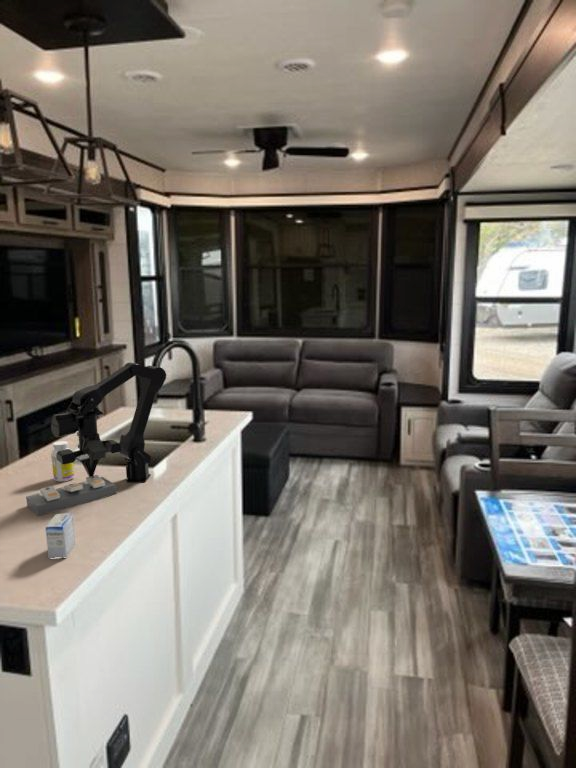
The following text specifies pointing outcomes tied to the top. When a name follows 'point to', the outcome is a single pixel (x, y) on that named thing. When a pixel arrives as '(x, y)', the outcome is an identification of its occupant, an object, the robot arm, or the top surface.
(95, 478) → the block
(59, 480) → the supplement bottle
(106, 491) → the rocker switch panel
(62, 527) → the medicine box
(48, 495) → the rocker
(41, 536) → the top surface
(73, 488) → the rocker middle
